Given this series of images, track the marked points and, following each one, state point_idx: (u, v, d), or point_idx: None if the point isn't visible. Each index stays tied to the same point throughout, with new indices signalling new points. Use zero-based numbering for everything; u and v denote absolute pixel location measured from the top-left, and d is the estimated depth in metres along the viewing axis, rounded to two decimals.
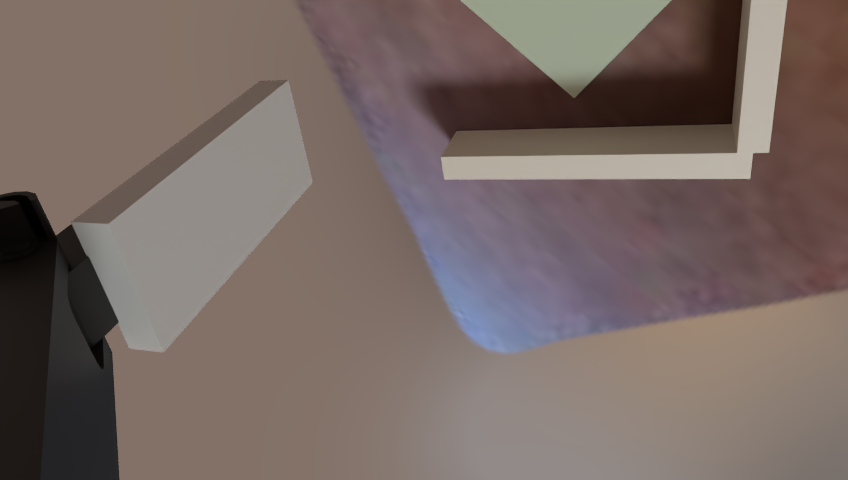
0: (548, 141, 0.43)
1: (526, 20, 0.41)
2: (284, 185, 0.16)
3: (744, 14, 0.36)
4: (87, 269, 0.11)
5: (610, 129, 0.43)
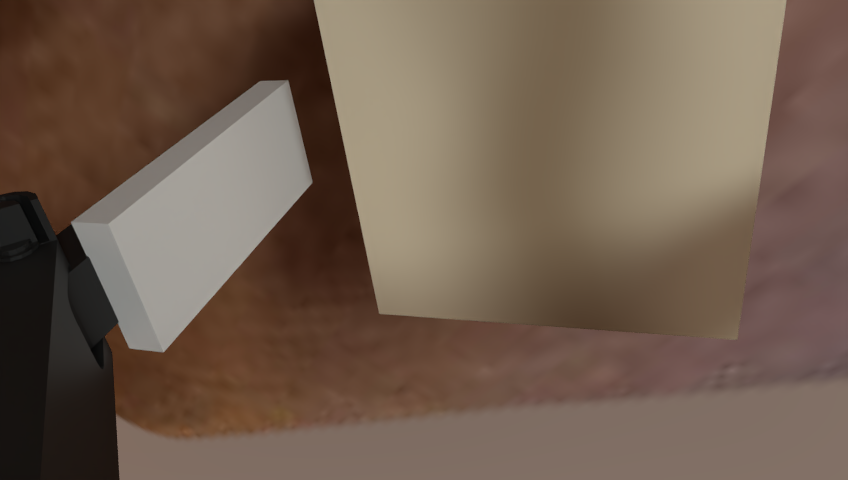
0: None
1: None
2: (284, 185, 0.16)
3: None
4: (87, 269, 0.11)
5: None
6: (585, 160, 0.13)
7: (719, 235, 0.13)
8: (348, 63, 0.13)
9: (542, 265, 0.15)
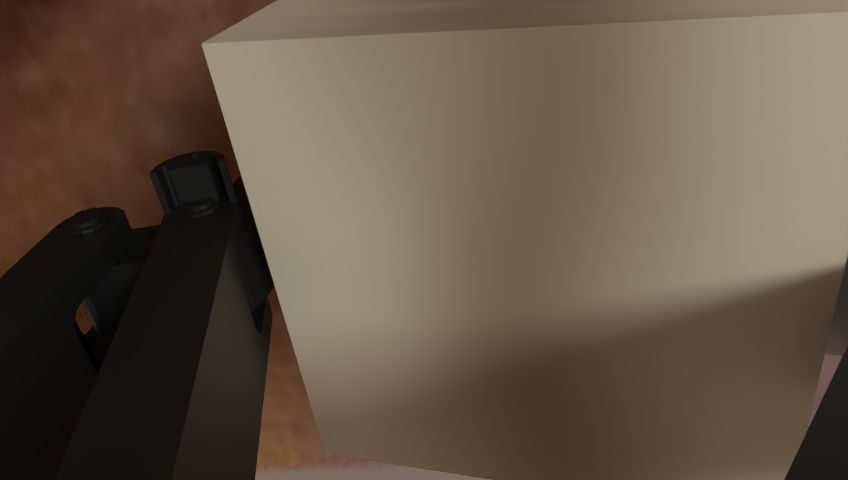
0: None
1: None
2: None
3: None
4: None
5: None
6: (583, 300, 0.10)
7: (765, 404, 0.10)
8: (264, 164, 0.10)
9: (527, 418, 0.11)
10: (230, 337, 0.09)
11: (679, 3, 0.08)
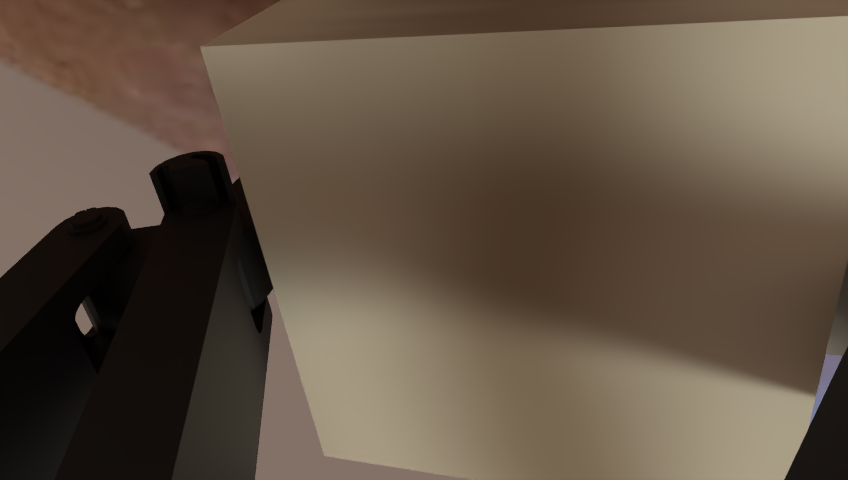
0: None
1: None
2: None
3: None
4: None
5: None
6: (583, 303, 0.10)
7: (766, 408, 0.10)
8: (263, 167, 0.10)
9: (526, 421, 0.11)
10: (230, 337, 0.09)
11: (679, 7, 0.08)
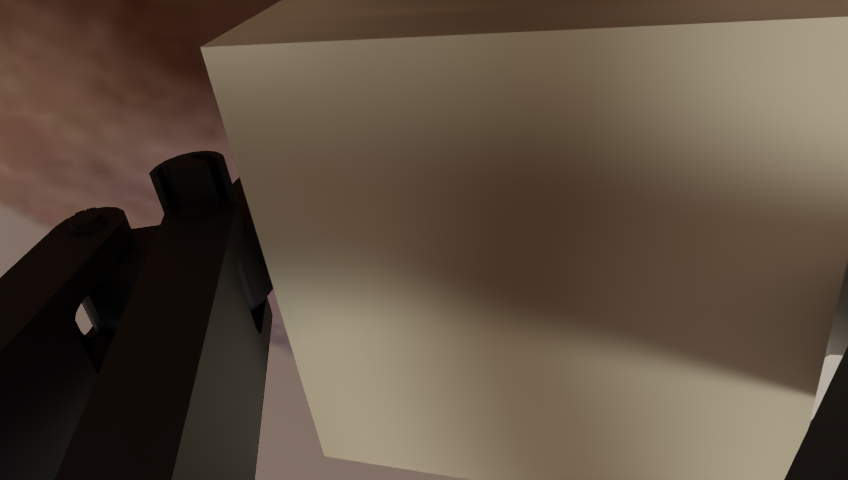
0: None
1: None
2: None
3: None
4: None
5: None
6: (582, 305, 0.10)
7: (765, 409, 0.10)
8: (263, 167, 0.10)
9: (526, 422, 0.11)
10: (230, 337, 0.09)
11: (679, 7, 0.08)
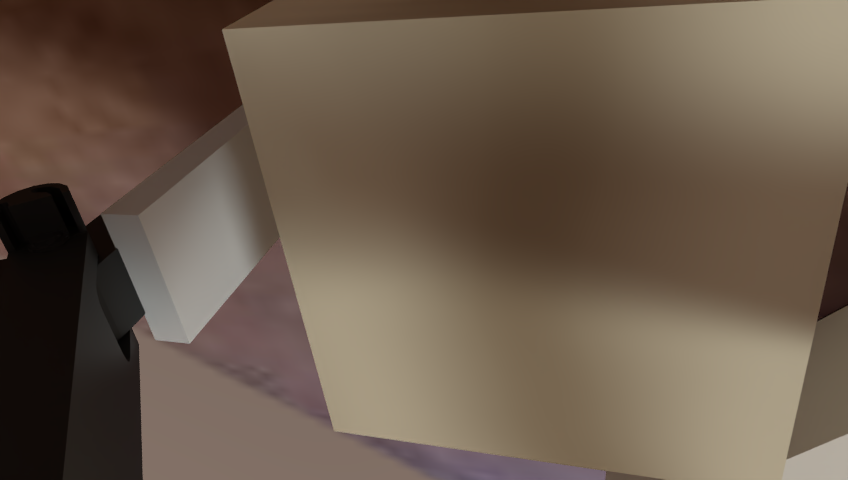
0: None
1: None
2: None
3: None
4: (116, 260, 0.12)
5: None
6: (585, 276, 0.10)
7: (759, 377, 0.10)
8: (280, 146, 0.10)
9: (530, 393, 0.12)
10: (99, 364, 0.09)
11: None
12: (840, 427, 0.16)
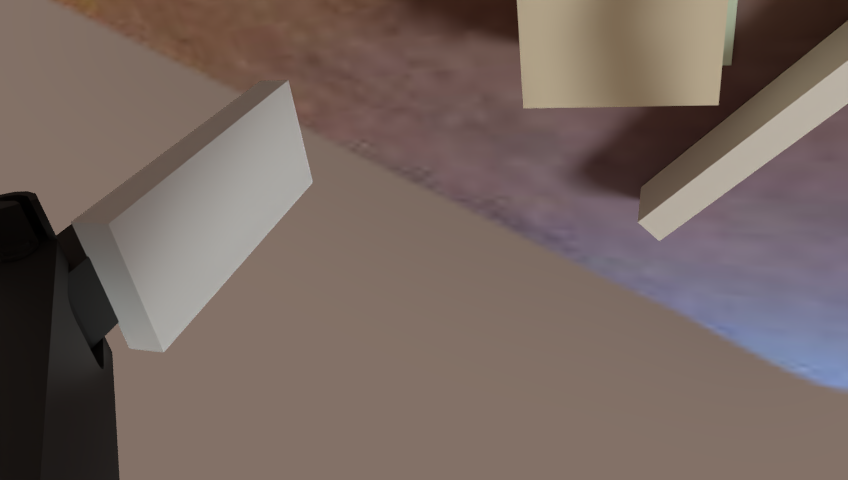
0: (738, 125, 0.34)
1: None
2: (284, 185, 0.16)
3: None
4: (87, 269, 0.11)
5: (799, 62, 0.34)
6: (642, 5, 0.27)
7: (708, 43, 0.27)
8: None
9: (617, 68, 0.28)
10: (73, 371, 0.09)
11: None
12: (758, 126, 0.32)
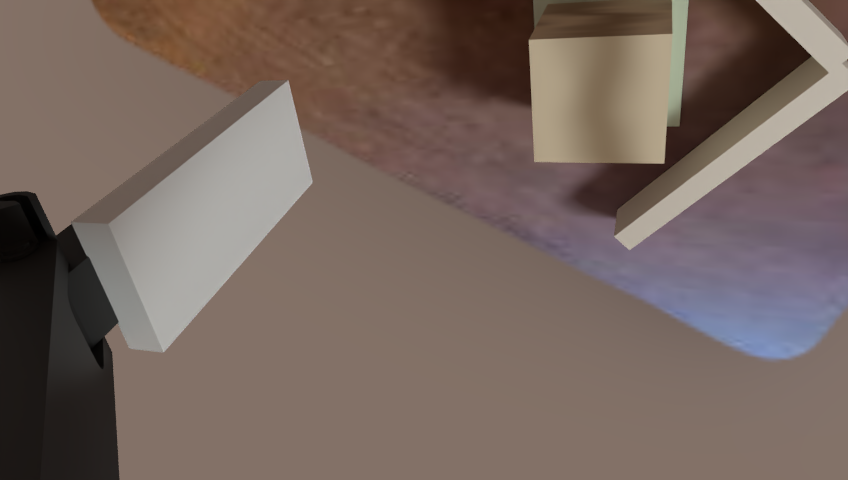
0: (683, 169, 0.49)
1: None
2: (284, 185, 0.16)
3: None
4: (87, 269, 0.11)
5: (725, 126, 0.48)
6: (614, 100, 0.41)
7: (656, 125, 0.41)
8: (537, 68, 0.41)
9: (597, 138, 0.43)
10: (73, 371, 0.09)
11: (634, 31, 0.39)
12: (696, 172, 0.47)
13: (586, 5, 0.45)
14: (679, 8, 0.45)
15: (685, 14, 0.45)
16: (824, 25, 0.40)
